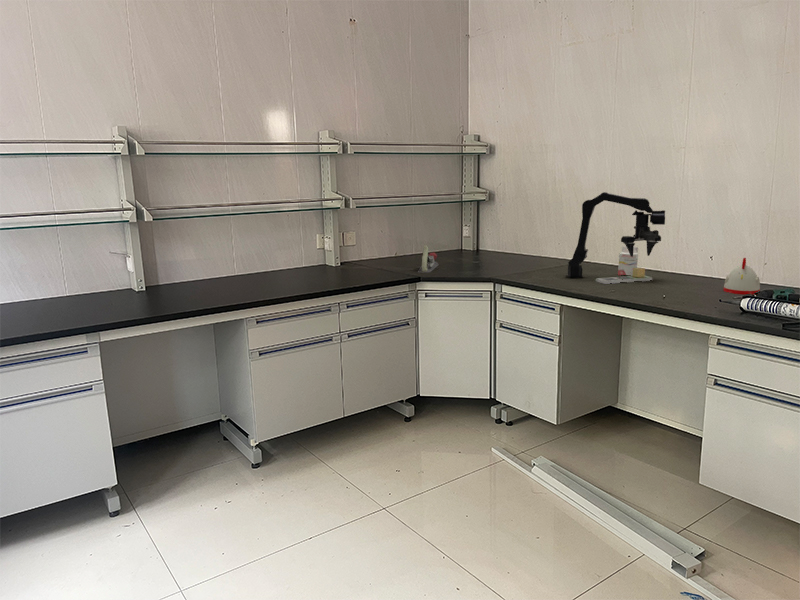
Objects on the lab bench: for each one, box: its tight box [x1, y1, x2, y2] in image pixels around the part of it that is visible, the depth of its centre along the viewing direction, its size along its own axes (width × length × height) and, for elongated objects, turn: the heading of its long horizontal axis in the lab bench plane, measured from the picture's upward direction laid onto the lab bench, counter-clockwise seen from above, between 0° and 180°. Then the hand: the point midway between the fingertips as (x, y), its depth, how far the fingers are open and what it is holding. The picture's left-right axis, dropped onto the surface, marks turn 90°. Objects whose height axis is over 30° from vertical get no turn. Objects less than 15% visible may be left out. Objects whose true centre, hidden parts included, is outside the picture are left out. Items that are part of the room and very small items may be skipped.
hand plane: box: [417, 244, 440, 274], centre depth 344 cm, size 7×31×15 cm, turn 166°
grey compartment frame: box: [595, 275, 653, 285], centre depth 293 cm, size 26×8×2 cm, turn 102°
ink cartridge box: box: [617, 246, 639, 276], centre depth 307 cm, size 9×5×15 cm, turn 56°
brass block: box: [632, 267, 646, 278], centre depth 294 cm, size 4×4×6 cm
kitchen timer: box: [723, 257, 761, 295], centre depth 261 cm, size 14×14×15 cm
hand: (640, 256), depth 292 cm, fingers open, 9 cm apart
